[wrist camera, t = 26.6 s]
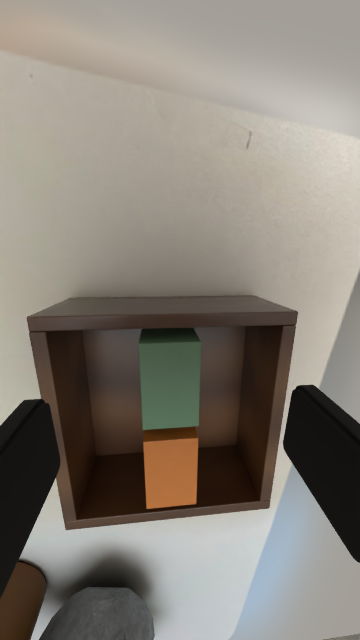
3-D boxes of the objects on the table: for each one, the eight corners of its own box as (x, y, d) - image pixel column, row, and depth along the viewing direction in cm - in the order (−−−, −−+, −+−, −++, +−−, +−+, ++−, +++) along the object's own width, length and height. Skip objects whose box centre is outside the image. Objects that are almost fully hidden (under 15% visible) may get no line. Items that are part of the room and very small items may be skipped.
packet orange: (146, 394, 18) (142, 442, 13) (188, 391, 18) (198, 438, 14) (149, 448, 20) (146, 509, 15) (187, 445, 20) (196, 504, 15)
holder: (69, 297, 16) (25, 316, 11) (255, 295, 17) (298, 311, 12) (90, 457, 20) (65, 530, 15) (241, 445, 21) (269, 508, 16)
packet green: (143, 319, 16) (138, 343, 12) (189, 318, 17) (201, 341, 12) (146, 384, 18) (142, 430, 13) (187, 382, 18) (198, 426, 13)
